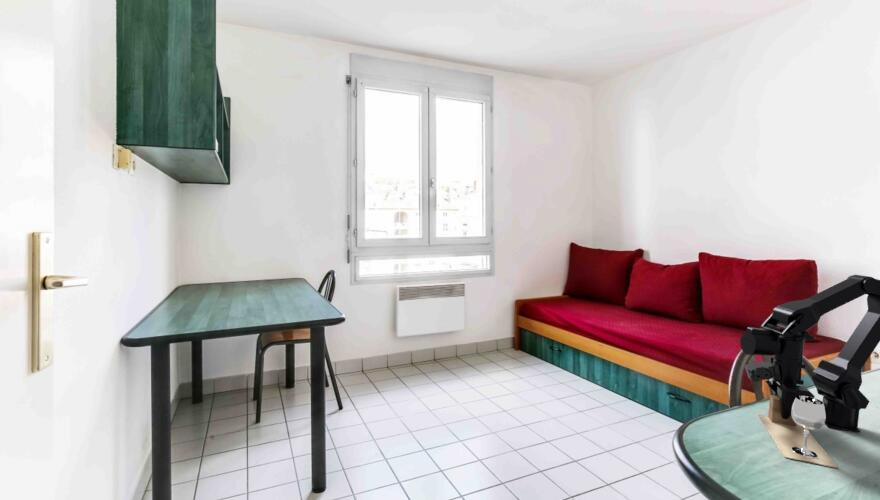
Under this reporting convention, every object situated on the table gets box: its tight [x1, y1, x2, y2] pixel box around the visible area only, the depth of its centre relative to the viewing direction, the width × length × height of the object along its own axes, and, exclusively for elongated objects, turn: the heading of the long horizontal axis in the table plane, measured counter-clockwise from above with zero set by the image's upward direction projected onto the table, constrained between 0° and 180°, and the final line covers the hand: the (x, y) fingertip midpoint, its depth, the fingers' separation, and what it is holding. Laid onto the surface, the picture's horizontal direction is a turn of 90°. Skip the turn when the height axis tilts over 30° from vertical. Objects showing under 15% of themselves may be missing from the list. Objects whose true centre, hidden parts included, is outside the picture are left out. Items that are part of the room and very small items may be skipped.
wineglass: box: [791, 396, 826, 458], centre depth 95 cm, size 6×6×12 cm
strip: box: [757, 394, 839, 469], centre depth 101 cm, size 9×22×6 cm, turn 156°
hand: (782, 415), depth 110 cm, fingers closed on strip, 3 cm apart
